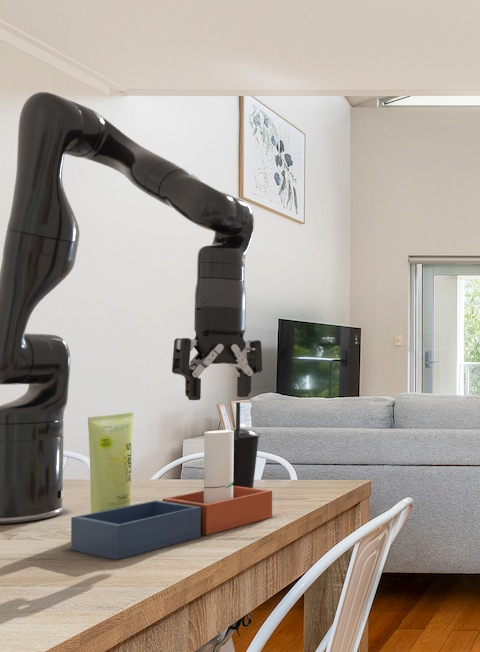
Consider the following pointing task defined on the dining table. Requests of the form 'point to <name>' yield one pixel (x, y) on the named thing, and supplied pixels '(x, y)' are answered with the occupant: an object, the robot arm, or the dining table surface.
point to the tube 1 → (110, 461)
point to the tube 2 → (218, 465)
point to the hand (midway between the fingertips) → (219, 398)
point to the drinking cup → (244, 454)
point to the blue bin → (135, 528)
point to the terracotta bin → (229, 508)
